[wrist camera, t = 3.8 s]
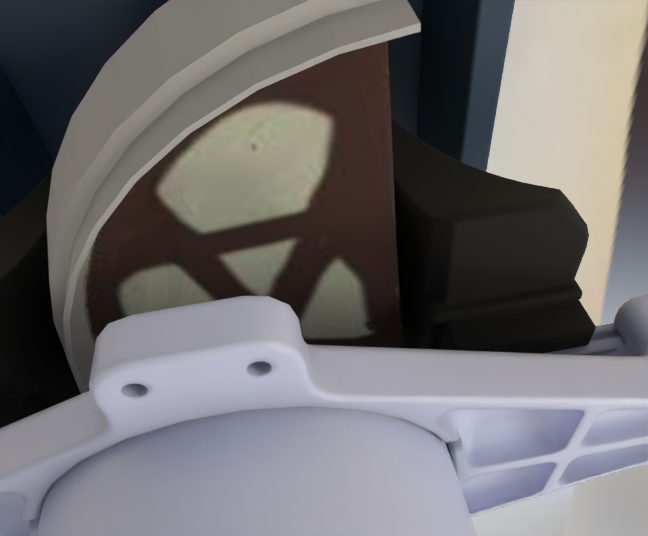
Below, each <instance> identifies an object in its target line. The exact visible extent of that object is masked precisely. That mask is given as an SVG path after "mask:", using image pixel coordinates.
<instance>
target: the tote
mask: <svg viewBox="0 0 648 536" xmlns="http://www.w3.org/2000/svg"><path fill="white" fill-rule="evenodd" d="M167 1H168V0H0V220H1V219H2V218H3V217H4V216H5V215H7V214H8V213H9V212H10V211H11V210H12V209H13V208H14V207H15V206H16V205H17V204H19V203H20V202H21V201H22V200H23V199H24V198H25V197H26V196H27V195H28V194H29V193H30V192H31V191H32V190H33V189H34V188H35V187H36V186H37V185H38V184H39V183H40V182H41V181H42V180H43V179H44V178H45V177H46V176H47V175H48V174H49V173H50V172H51V170H52V169H53V166H54V164H55V161H56V158H57V155H58V153H59V150H60V147H61V144H62V142H63V139H64V136H65V133H66V131H67V128H68V125H69V123H70V120H71V117H72V115H73V114H74V112H75V111H76V109H77V107H78V106H79V104H80V103H81V101H82V100H83V98H84V96H85V95H86V93H87V92H88V90H89V88H90V87H91V85H92V84H93V82H94V81H95V79H96V77H97V76H98V74H99V73H100V71H101V69H102V68H103V66H104V65H105V63H106V62H107V61H108V60H109V59H110V58H111V57H112V56H113V55H114V54H115V53H116V51H117V50H118V49H119V48H120V47H121V46H122V45H123V44H124V43H125V42H126V41H127V40H128V39H129V38H130V37H131V36H132V35H133V34H134V33H135V31H136V30H137V29H138V28H139V27H140V26H141V25H142V24H143V23H144V22H145V21H146V20H147V19H148V18H149V17H150V16H151V15H152V14H153V12H154V11H156V10H157V9H158V8H160V7H161V6H162V5H164V4H165V3H167ZM407 1H408V2H409V4H410V6H411V7H412V9H413V11H414V12H415V14H416V16H417V17H418V19H419V21H420V22H421V31H420V32H417V33H413V34H410V35H406V36H403V37H399V38H395V39H392V40H388V61H389V81H390V102H391V118H392V119H393V120H395V121H396V122H397V123H398V124H400V125H401V126H402V127H404V128H405V129H406V130H408V131H409V132H410V133H412V134H413V135H415V136H416V137H418V138H419V139H421V140H422V141H424V142H425V143H427V144H428V145H430V146H431V147H433V148H435V149H437V150H438V151H440V152H442V153H444V154H446V155H448V156H450V157H452V158H454V159H456V160H458V161H460V162H462V163H465V164H467V165H469V166H472V167H475V168H477V169H480V170H482V171H485V172H486V169H487V163H488V157H489V151H490V145H491V139H492V133H493V127H494V121H495V115H496V109H497V103H498V97H499V91H500V85H501V79H502V73H503V67H504V61H505V55H506V49H507V43H508V37H509V31H510V25H511V19H512V14H513V8H514V2H515V0H407Z"/></svg>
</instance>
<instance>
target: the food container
mask: <svg viewBox="0 0 648 536" xmlns="http://www.w3.org/2000/svg"><path fill="white" fill-rule="evenodd" d="M420 31H421V22H420V21H419V19H418V17H417V16H416V14H415V12H414V11H413V9H412V7H411V6H410V4H409V2H408V1H407V0H168V1H167V3H165V4H164V5H162V6H161V7H160V8H158V9H157V10H156V11H154V12H153V14H152V15H151V16H150V17H149V18H148V19H147V20H146V21H145V22H144V23H143V24H142V25H141V26H140V27H139V28H138V29H137V30H136V31H135V33H134V34H133V35H132V36H131V37H130V38H129V39H128V40H127V41H126V42H125V43H124V44H123V45H122V46H121V47H120V48H119V49H118V50H117V51H116V53H115V54H114V55H113V56H112V57H111V58H110V59H109V60H108V61H107V62H106V63H105V65H104V66H103V68H102V69H101V71H100V73H99V74H98V76H97V77H96V79H95V81H94V82H93V84H92V85H91V87H90V88H89V90H88V92H87V93H86V95H85V96H84V98H83V100H82V101H81V103H80V104H79V106H78V107H77V109H76V111H75V112H74V114H73V115H72V117H71V120H70V123H69V125H68V128H67V131H66V133H65V136H64V139H63V142H62V144H61V147H60V150H59V153H58V155H57V158H56V161H55V164H54V166H53V169H52V177H51V185H50V193H49V201H48V209H47V217H46V218H47V242H48V265H49V284H50V293H51V302H52V312H53V321H54V325H55V327H56V330H57V332H58V335H59V338H60V340H61V343H62V346H63V348H64V351H65V354H66V356H67V360H68V362H69V365H70V368H71V370H72V373H73V375H74V378H75V380H76V383H77V386H78V388H79V391H80V392H81V393H85V392H87V391H89V390H90V388H89V380H90V374H91V369H92V363H93V357H94V351H95V345H96V339H97V337H98V336H99V334H100V333H101V332H102V331H103V330H104V328H105V327H106V326H107V325H108V324H109V323H112V322H114V321H117V320H120V319H122V318H125V317H128V316H130V315H133V314H139V313H145V312H151V311H157V310H162V309H168V308H174V307H180V306H186V305H192V304H198V303H204V302H210V301H216V300H221V299H227V298H233V297H239V296H269V297H271V298H274V299H276V300H279V301H281V302H283V303H286V304H288V305H290V307H291V308H292V310H293V311H294V313H295V314H296V316H297V317H298V319H299V324H300V329H301V334H302V337H303V339H304V342H305V343H306V344H309V345H333V346H359V347H385V348H402V335H403V329H402V316H401V303H400V290H399V277H398V259H397V239H396V220H395V199H394V174H393V149H392V125H391V102H390V81H389V61H388V40H392V39H395V38H399V37H403V36H406V35H410V34H413V33H417V32H420Z"/></svg>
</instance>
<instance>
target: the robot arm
mask: <svg viewBox="0 0 648 536" xmlns="http://www.w3.org/2000/svg"><path fill="white" fill-rule="evenodd" d="M391 125H392V149H393V174H394V199H395V220H396V239H397V259H398V277H399V290H400V303H401V316H402V329H403V335H402V348H385V347H359V346H333V345H309V344H306V343H305V342H304V339H303V337H302V334H301V329H300V324H299V319H298V317H297V316H296V314H295V313H294V311H293V310H292V308H291V307H290V305H288V304H286V303H283V302H281V301H279V300H276V299H274V298H271V297H269V296H239V297H233V298H227V299H221V300H216V301H210V302H204V303H198V304H192V305H186V306H180V307H174V308H168V309H162V310H157V311H151V312H145V313H139V314H133V315H130V316H128V317H125V318H122V319H120V320H117V321H114V322H112V323H109V324H108V325H107V326H106V327H105V328H104V330H103V331H102V332H101V333H100V334H99V336H98V337H97V339H96V345H95V351H94V357H93V363H92V369H91V374H90V380H89V388H90V390H89V391H87V392H85V393H81V392H80V391H79V388H78V386H77V383H76V380H75V378H74V375H73V373H72V370H71V368H70V365H69V362H68V360H67V356H66V354H65V351H64V348H63V346H62V343H61V340H60V338H59V335H58V332H57V330H56V327H55V325H54V321H53V312H52V302H51V293H50V284H49V265H48V242H47V218H46V217H47V209H48V201H49V193H50V185H51V177H52V170H51V172H50V173H49V174H48V175H47V176H46V177H45V178H44V179H43V180H42V181H41V182H40V183H39V184H38V185H37V186H36V187H35V188H34V189H33V190H32V191H31V192H30V193H29V194H28V195H27V196H26V197H25V198H24V199H23V200H22V201H21V202H20V203H19V204H17V205H16V206H15V207H14V208H13V209H12V210H11V211H10V212H9V213H8V214H7V215H5V216H4V217H3V218H2V219H1V220H0V536H477V535H476V532H475V529H474V526H473V523H472V520H471V517H472V516H475V515H479V514H482V513H485V512H488V511H492V510H495V509H498V508H501V507H504V506H508V505H511V504H514V503H517V502H521V501H524V500H527V499H530V498H534V497H537V496H540V495H543V494H546V493H550V492H553V491H556V490H559V489H563V488H566V487H569V486H572V485H576V484H579V483H581V482H585V481H588V480H592V479H595V478H599V477H602V476H606V475H609V474H612V473H616V472H619V471H623V470H626V469H630V468H634V467H638V466H642V465H646V464H648V295H644V296H639V297H636V298H632V299H630V300H629V301H627V302H625V303H624V304H623V305H622V306H621V307H620V308H619V310H618V312H617V314H616V317H615V320H614V323H612V324H607V325H602V326H595V325H594V323H593V322H592V320H591V319H590V317H589V315H588V314H587V312H586V311H585V309H584V307H583V306H582V304H581V303H580V301H579V299H581V296H582V290H581V289H580V287H579V286H578V284H577V282H576V281H575V279H574V278H575V276H576V273H577V270H578V268H579V265H580V263H581V260H582V257H583V255H584V252H585V249H586V247H587V242H588V237H589V234H588V229H587V224H586V223H585V222H584V220H583V219H582V218H581V216H580V215H579V213H578V212H577V210H576V209H575V207H574V206H573V205H572V203H571V202H570V201H569V200H568V199H567V197H566V196H565V195H564V194H563V193H562V192H561V191H560V190H559V189H554V188H548V187H543V186H538V185H532V184H527V183H522V182H518V181H515V180H511V179H507V178H504V177H500V176H497V175H494V174H491V173H488V172H485V171H482V170H480V169H477V168H475V167H472V166H469V165H467V164H465V163H462V162H460V161H458V160H456V159H454V158H452V157H450V156H448V155H446V154H444V153H442V152H440V151H438V150H437V149H435V148H433V147H431V146H430V145H428V144H427V143H425V142H424V141H422V140H421V139H419V138H418V137H416V136H415V135H413V134H412V133H410V132H409V131H408V130H406V129H405V128H404V127H402V126H401V125H400V124H398V123H397V122H396V121H395V120H393V119H392V118H391Z"/></svg>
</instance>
